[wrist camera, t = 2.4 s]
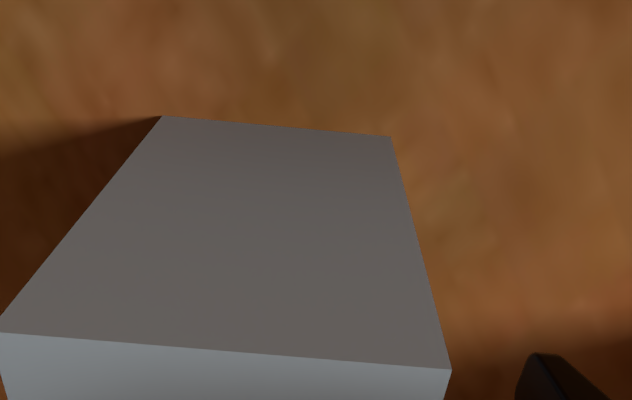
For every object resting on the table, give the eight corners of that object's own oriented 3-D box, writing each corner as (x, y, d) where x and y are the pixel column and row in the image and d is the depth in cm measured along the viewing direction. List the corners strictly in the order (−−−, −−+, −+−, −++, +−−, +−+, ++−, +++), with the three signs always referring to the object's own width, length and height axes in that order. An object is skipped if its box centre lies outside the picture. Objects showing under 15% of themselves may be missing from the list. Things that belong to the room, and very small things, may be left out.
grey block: (173, 293, 12) (59, 573, 7) (163, 115, 10) (-13, 332, 5) (360, 309, 13) (382, 597, 7) (390, 136, 10) (451, 370, 5)
